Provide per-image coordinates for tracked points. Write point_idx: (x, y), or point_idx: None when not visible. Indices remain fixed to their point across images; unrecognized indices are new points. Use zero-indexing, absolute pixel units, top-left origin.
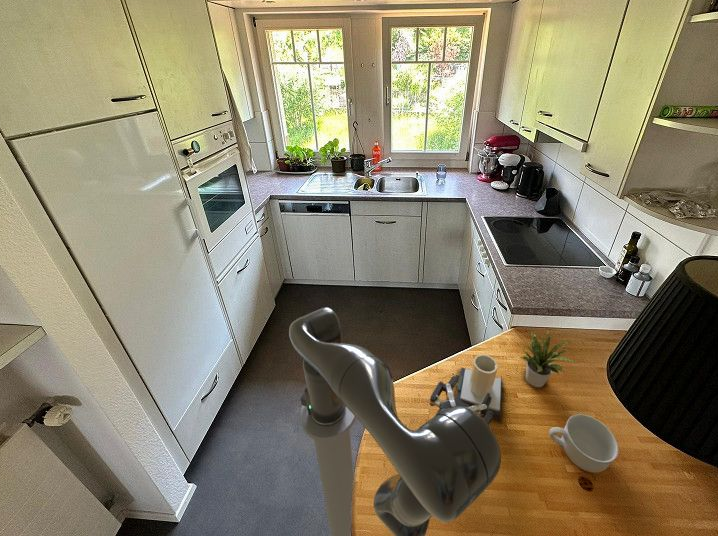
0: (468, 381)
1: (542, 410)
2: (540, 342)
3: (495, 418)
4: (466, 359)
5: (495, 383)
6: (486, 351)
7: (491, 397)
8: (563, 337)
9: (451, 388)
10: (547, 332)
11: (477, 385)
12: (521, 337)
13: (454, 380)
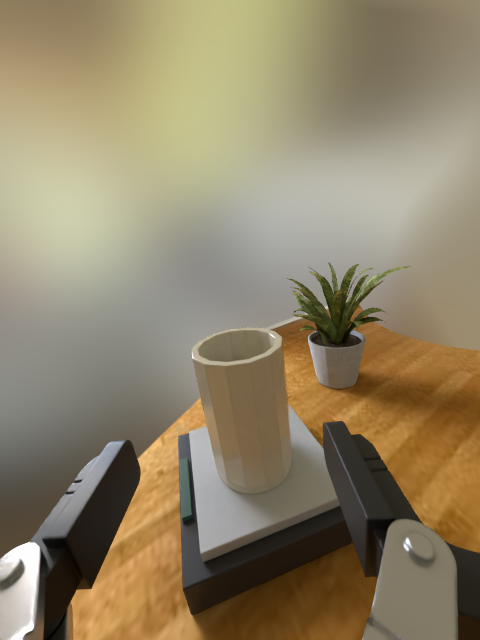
0: (210, 461)
1: (408, 419)
2: (310, 301)
3: None
4: (189, 417)
5: None
6: None
7: (363, 437)
8: None
9: (75, 570)
10: (313, 273)
11: (244, 446)
12: None
13: (91, 482)
